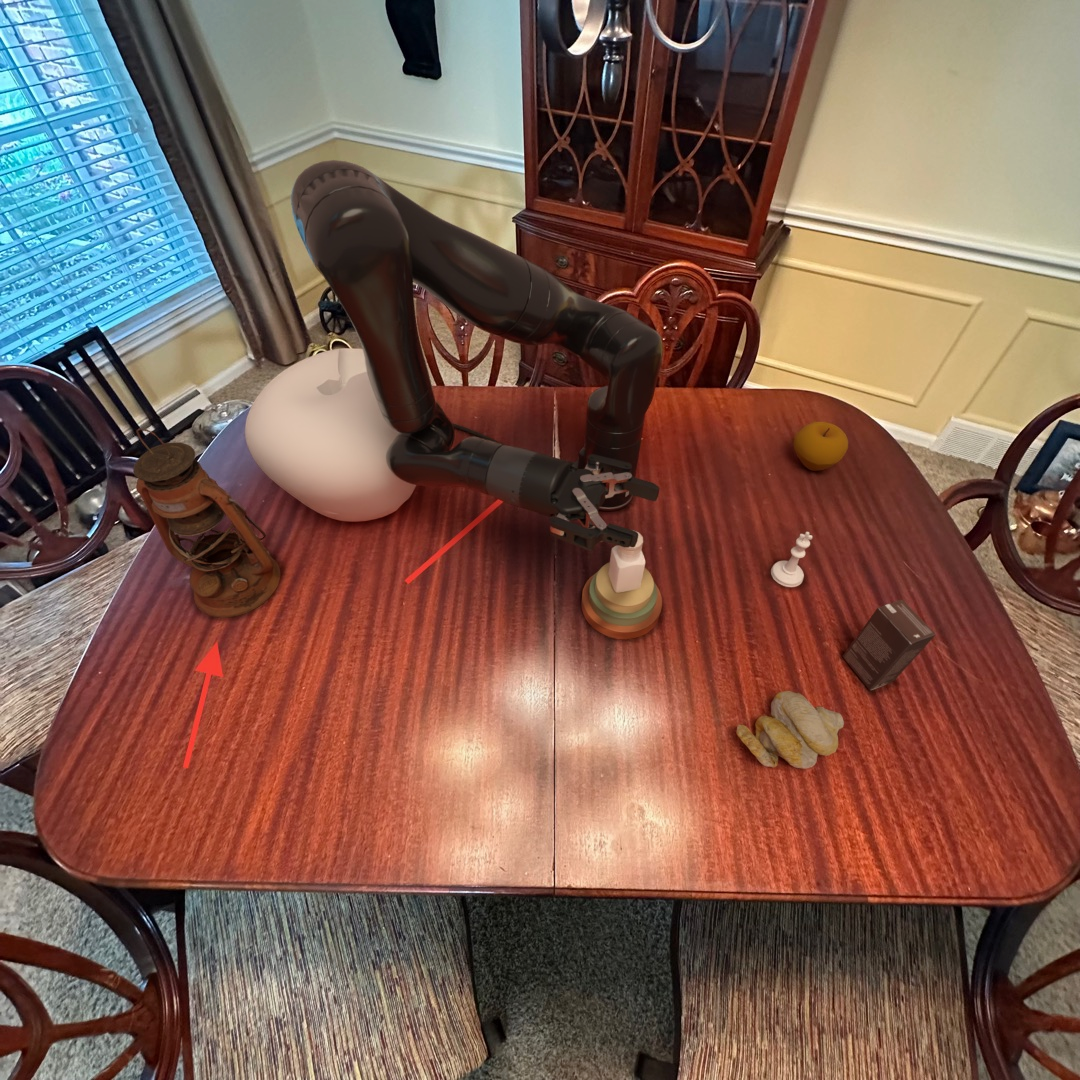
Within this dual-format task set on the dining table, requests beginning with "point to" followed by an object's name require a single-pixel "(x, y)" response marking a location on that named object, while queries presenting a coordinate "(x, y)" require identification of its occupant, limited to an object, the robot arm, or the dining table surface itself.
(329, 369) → the pale giant fruit
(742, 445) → the dining table surface
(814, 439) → the apple
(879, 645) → the box
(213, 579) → the lantern
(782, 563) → the chess piece
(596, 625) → the ring stack
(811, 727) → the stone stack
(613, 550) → the pepper shaker
